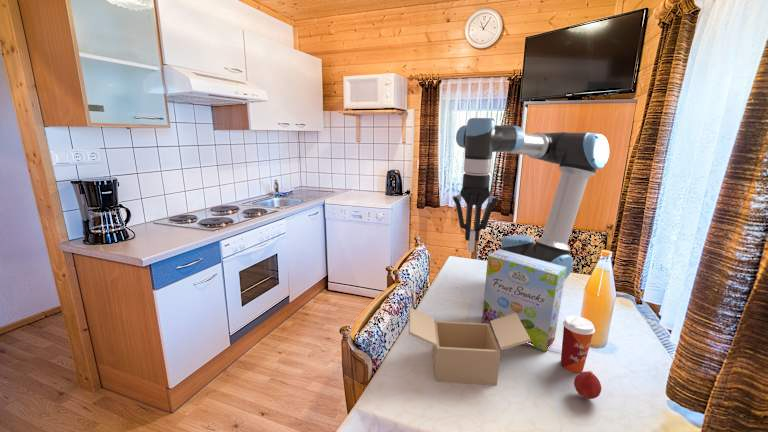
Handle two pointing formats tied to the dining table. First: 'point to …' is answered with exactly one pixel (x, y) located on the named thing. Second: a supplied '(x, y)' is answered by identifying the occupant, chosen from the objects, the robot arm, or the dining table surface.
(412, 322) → the flap
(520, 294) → the snack box
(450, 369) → the carton
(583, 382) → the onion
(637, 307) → the dining table surface
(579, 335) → the paper cup
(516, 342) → the flap
